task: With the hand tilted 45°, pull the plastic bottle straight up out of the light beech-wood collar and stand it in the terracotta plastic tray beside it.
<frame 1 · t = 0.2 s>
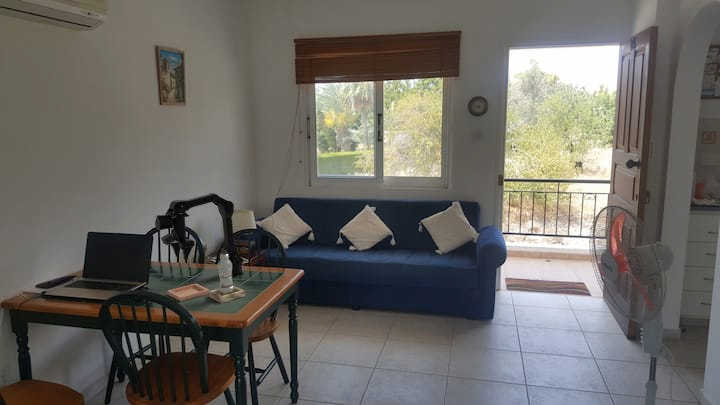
hand: (181, 258, 235), 15 cm above the table, tool pointing down, fingers open, 9 cm apart
collar: (227, 296, 223), on the table
tray: (188, 294, 227), on the table
plastic bottle: (227, 296, 223), resting in collar
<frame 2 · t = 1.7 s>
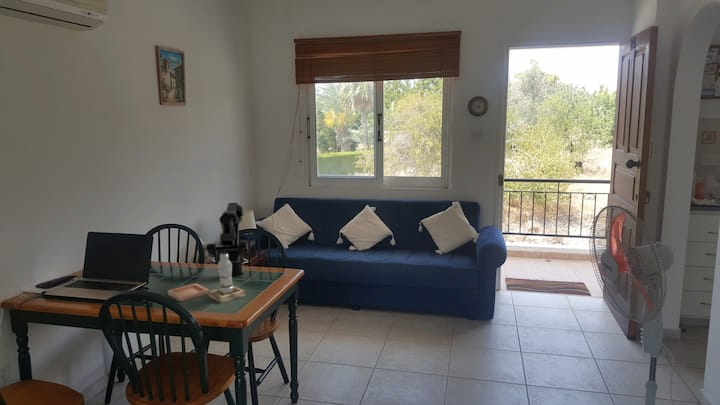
hand: (226, 263, 228), 13 cm above the table, tool tilted 45°, fingers open, 9 cm apart
nothing on the table moved.
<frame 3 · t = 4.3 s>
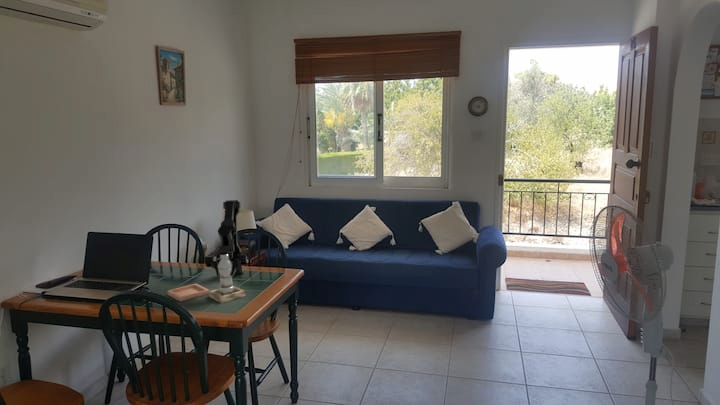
hand: (225, 277, 220), 10 cm above the table, tool tilted 45°, fingers closed on plastic bottle, 6 cm apart
plastic bottle: (227, 296, 223), resting in collar, touching gripper
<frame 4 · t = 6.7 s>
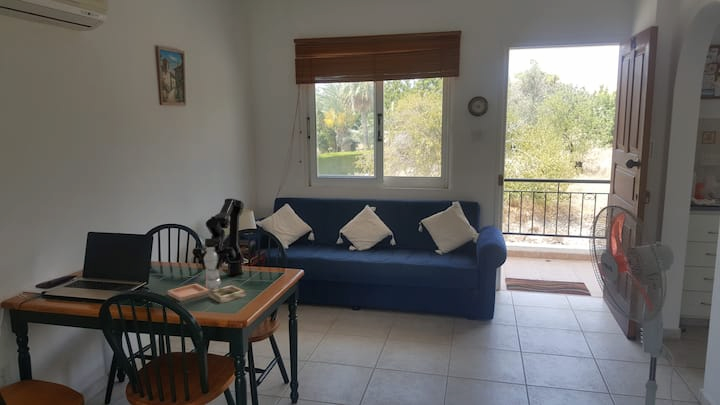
hand: (210, 269, 220), 13 cm above the table, tool tilted 45°, fingers closed on plastic bottle, 6 cm apart
plastic bottle: (213, 289, 223), point 3 cm above the table, touching gripper
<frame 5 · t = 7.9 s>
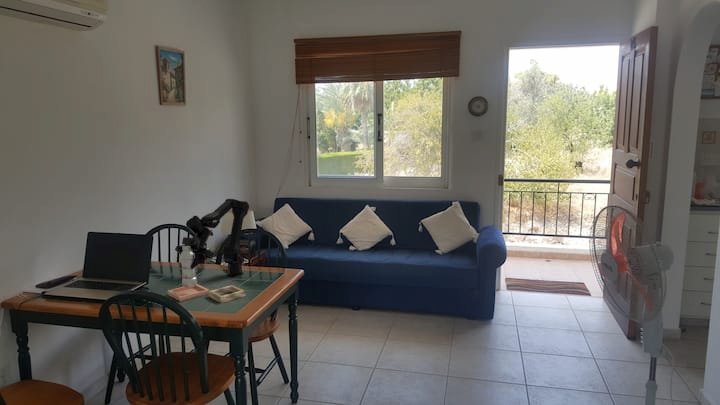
hand: (186, 267, 223), 13 cm above the table, tool tilted 45°, fingers closed on plastic bottle, 6 cm apart
plastic bottle: (190, 287, 226), point 3 cm above the table, touching gripper
when the fingers open (11 cm above the table, at t = 9.2 s): plastic bottle drops 1 cm, resting on tray.
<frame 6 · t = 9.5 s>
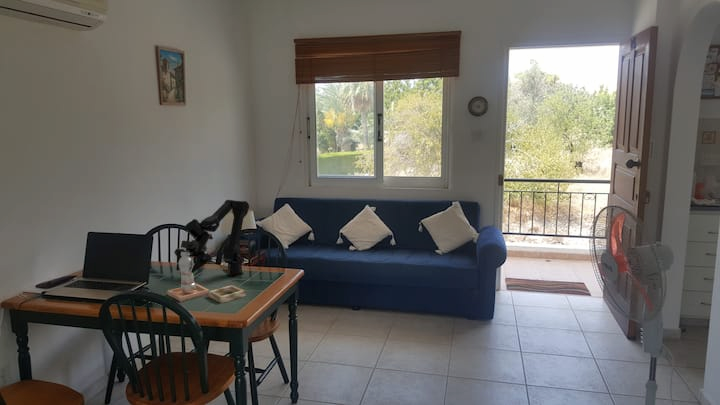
hand: (184, 271, 224), 12 cm above the table, tool tilted 45°, fingers open, 9 cm apart
plastic bottle: (188, 293, 227), resting on tray
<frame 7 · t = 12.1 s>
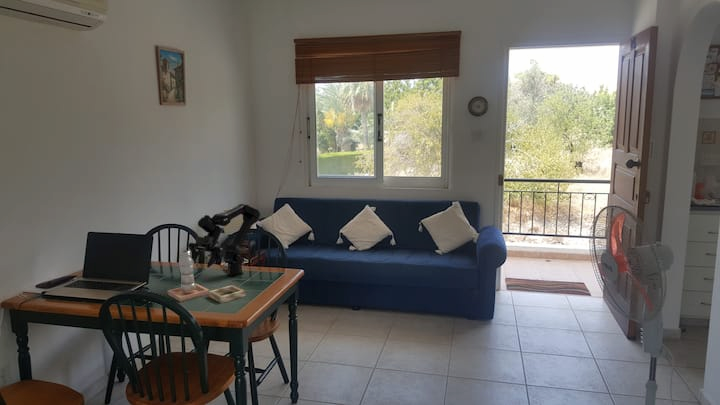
hand: (199, 265, 233), 11 cm above the table, tool tilted 40°, fingers open, 9 cm apart
nothing on the table moved.
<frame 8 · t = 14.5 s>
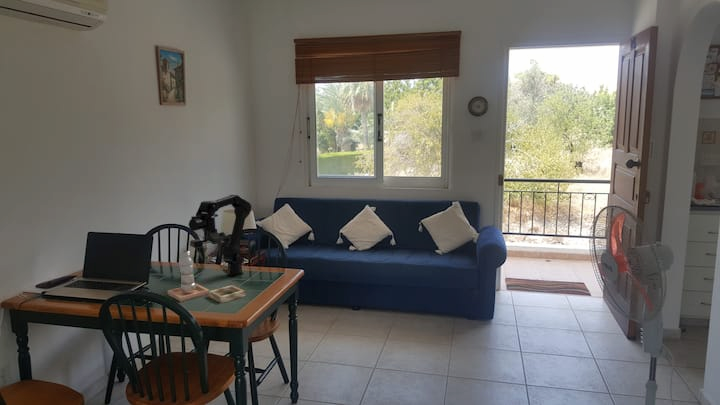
hand: (211, 257, 241), 13 cm above the table, tool pointing down, fingers open, 9 cm apart
nothing on the table moved.
at the end: plastic bottle inside the target area on the tray (0.1 cm from its centre), point 0.4 cm above the tray's base; plastic bottle tilted 0°; the gripper is holding nothing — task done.
